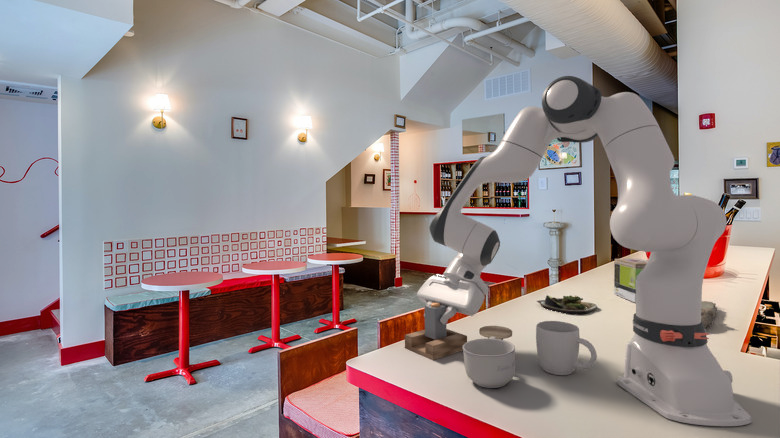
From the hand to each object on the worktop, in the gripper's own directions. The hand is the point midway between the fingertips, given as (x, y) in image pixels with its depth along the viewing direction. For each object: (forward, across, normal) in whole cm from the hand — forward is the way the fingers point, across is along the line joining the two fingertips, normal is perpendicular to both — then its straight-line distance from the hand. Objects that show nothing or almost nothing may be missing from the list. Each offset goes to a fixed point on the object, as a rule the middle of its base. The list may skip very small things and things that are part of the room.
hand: (433, 320), depth 109 cm
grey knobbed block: (+3, 0, +4) cm, 4 cm away
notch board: (+5, 0, +6) cm, 8 cm away
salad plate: (-40, -1, +51) cm, 65 cm away
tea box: (-62, +9, +74) cm, 97 cm away
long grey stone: (-53, +32, +64) cm, 89 cm away
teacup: (+8, +21, +4) cm, 23 cm away
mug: (-4, +29, +15) cm, 33 cm away
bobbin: (-1, +12, +12) cm, 17 cm away
